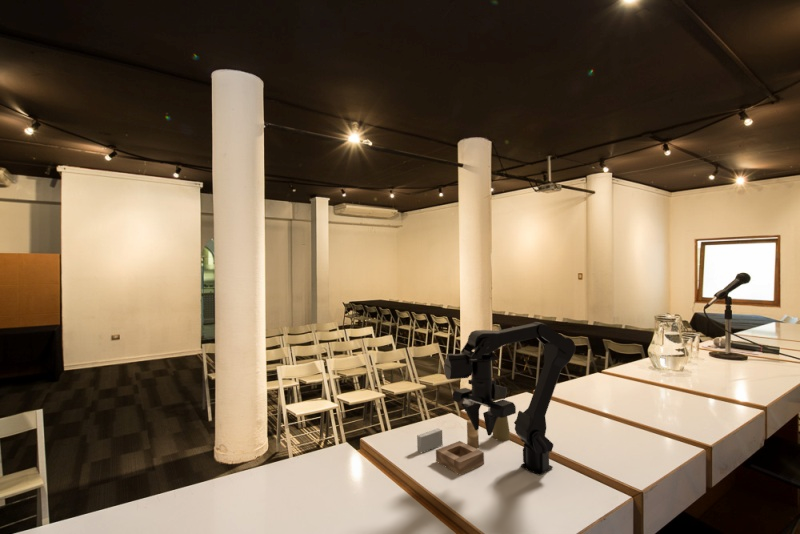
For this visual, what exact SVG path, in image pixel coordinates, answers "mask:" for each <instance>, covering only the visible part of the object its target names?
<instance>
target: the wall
mask: <svg viewBox="0 0 800 534" xmlns="http://www.w3.org/2000/svg"><path fill="white" fill-rule="evenodd" d="M416 437H417V439H416V441H417V442H416V443H417V446H416V447H417V452H418V451H420V452H424V451H426V452H428V451H427V450H429V451H431V450H430V449H432V450H434V449H436V448H435V447H437V448H439V447H438V446H440V447H441V445H442V446H443V429H441V428H439V427H438V428H435V429H431V430H430V431H426V432H423V433H420V434H417V436H416ZM433 448H434V449H433ZM420 452H419V453H420ZM424 453H425V452H424Z"/></svg>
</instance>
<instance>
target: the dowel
mask: <svg viewBox="0 0 800 534" xmlns="http://www.w3.org/2000/svg"><path fill="white" fill-rule="evenodd" d="M466 437H467V438H466V439H467V440H466V441H467V443H466V444H467V445H469V446H472V447H474V448H476V449H478V450H479V448H480V447H479V446H480V444H479V443H480V442H479V429H478V430H475V429H474V427H473V425H472V423H471V420H470V419H469V420H467V421H466Z"/></svg>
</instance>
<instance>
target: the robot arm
mask: <svg viewBox="0 0 800 534" xmlns="http://www.w3.org/2000/svg"><path fill="white" fill-rule="evenodd" d="M532 339H537V340H538V341H539V342H540V343H541V344H543V347H544V348H543V359H544V362H543V363H544V364H543V365H542V368H541V372H540V374H539V377H538V380H537V382H536V385H535V388H534V391H533V394H532V396H531V399H530V402H529V405H528V407H527V409H525V410H524V411H522V410H519V411H518V412H517V406H516V404H515V403H514V402H513V401H509V400H506V396H507V391H508V387H505V386H502V385H498V384H497V381H496V379H493V364H492V363H493V361H499V360H500V358H499V356H498V355H497V354H495V352H496V351H497V350H499V349H500V348H502V347H503V346H507V345H510V344H515V343H518V342H523V341H529V340H532ZM576 347H577V346H576V344H575V341H574V340H573V339H572V338H570V337H568V336H567V337H566V336H563V335H562V334H561V333H559V332H557V331H555V330H554V329H552V328H551V327H550V326H548V325H547V324H546V323H543V322H538V321H533V322H532V323H528V324H523V325H519V326H518V325H517V326H513V327H508V328H504V329H500V330H498V329H497V330H490V329H487V330H486V329H483V330H482V329H481V330H480V329H479V330H473V331H471V332H470V334H469V335H468V336H467V342H466V343H465V345H464V346H463V348H462V349H461V350H460V353H446V355H445V356H446V358H445V360H444V364H443V372H444V376H445V378H446V380H459V379H468V385H471V389H470V388H467V387H464V388H460V389H456V390H454V391H453V393H452V401H454V402H456V403H458V404H459V403H461V402H462V403H461V405H460V406H461V407H462V408H463V409H464V411H465V413H466V415H467V416H468V419H469V420H471V423H472V425H473V427H474V429H475V430H478V431H479V429H480V409H481V406H484V407H487V408H488V409H487V411H485V412H483V413H482V414H483V419H484V425H485V429H486V434H487V436H491V435H493V428H494V426H495V423H496V420H497V418H498V417H500V418H504V417H507V418H508V417H509V416H512V415H514V414H515V415H516V414H517V417H516V419H515V421H514V422H513V423H514V424H515V425H514V430H515V434H516V435H517V436H518V437H519V438H520V441H521V442H522V443H524V444H523V448H522V464H520V467H521V468H523V469H525V470H527V471H529V472H532V473H533V474H536V475H538V476H542V475H544V474H545V473H547V472H549V471H551V470H553V466H552V465H550V453H551V452H552V451H553V449H554V443H553V442H552V441H551V440H550V439H548V437H546V432H547V420H546V414H547V411H548V409H549V405H550V403H551V400H552V397H553V394H554V393H555V392H554V391H555V389H556V386H557V383H558V380H559V377H560V375H561V372H562V369H563V368H564V367H566V365H567V364H568V363H570V362H571V360H572V359H573V356H574V355H575V353H576ZM469 377H470V378H471V379H469ZM499 397H500V398H501V399H500V400H498V399H499ZM494 400H497V401H494Z"/></svg>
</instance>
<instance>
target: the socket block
mask: <svg viewBox="0 0 800 534" xmlns="http://www.w3.org/2000/svg"><path fill="white" fill-rule="evenodd" d="M436 461H437V463H438V462H439V463H438V464H440V465H441V464H442V465H441V466H443V465H444V466H443V467H445V466H446V467H445V468H447V469H448V468H449V470H450V469H451V470H450V471H452V470H453V471H452V472H454V473H456V474H457V473H458V474H457V475H459V474H461V475H463V474H465V473H467V472H470V471H471V470H474V469H477V468H478V467H481V466H483V465H484V464H485V452H484V451H482V450H480V449H479V448H478V449H476V448H474V447H472V446H469V445H467V443H466V442H463V441H460V440H458V441H456V442H453V443H451V444H447V445H445V446H443V447H440V448H436V449H435V462H436Z"/></svg>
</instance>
